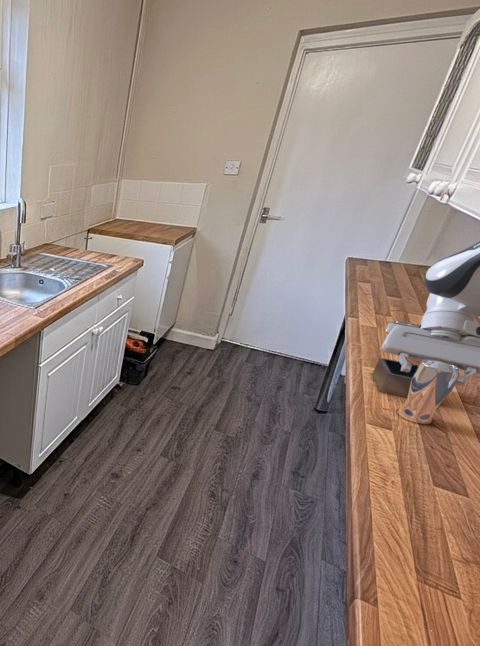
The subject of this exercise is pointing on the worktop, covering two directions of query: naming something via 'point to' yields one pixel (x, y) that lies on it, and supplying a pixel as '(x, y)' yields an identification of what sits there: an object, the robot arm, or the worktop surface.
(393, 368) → the dark gray square tray
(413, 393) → the metal tumbler
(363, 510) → the worktop surface
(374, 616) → the worktop surface
